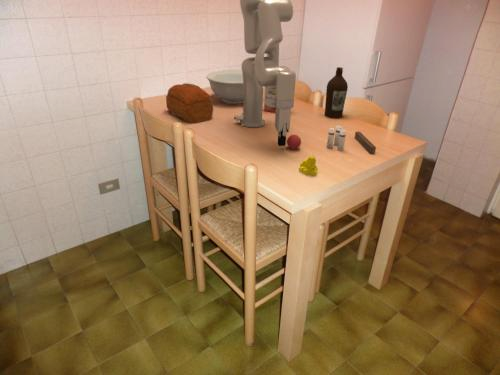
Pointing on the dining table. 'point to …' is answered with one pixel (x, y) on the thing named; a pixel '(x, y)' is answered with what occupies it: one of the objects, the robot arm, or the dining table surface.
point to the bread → (189, 103)
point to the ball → (293, 141)
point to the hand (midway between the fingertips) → (281, 145)
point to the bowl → (227, 85)
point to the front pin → (330, 137)
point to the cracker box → (270, 99)
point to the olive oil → (336, 95)
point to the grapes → (309, 166)
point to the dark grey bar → (365, 142)
